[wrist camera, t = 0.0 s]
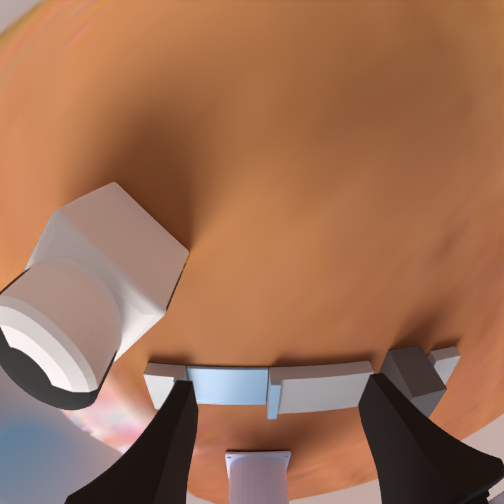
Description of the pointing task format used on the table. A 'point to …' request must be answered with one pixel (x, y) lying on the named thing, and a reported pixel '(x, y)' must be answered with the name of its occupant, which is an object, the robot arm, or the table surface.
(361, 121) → the table surface
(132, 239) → the medicine bottle
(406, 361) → the grey tapered block
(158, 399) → the flanged white bar
